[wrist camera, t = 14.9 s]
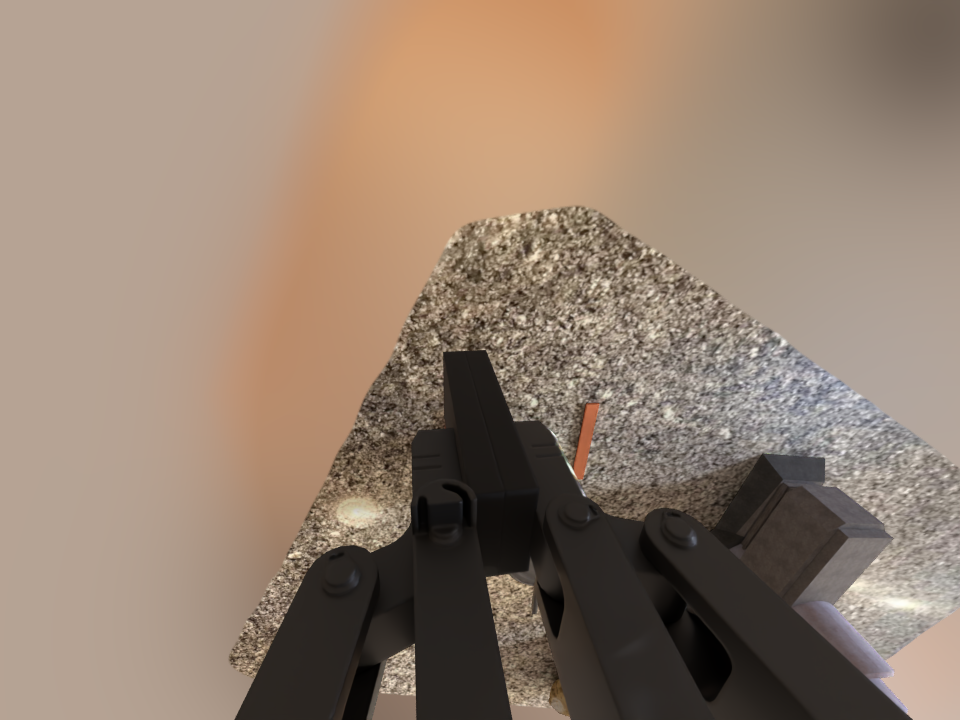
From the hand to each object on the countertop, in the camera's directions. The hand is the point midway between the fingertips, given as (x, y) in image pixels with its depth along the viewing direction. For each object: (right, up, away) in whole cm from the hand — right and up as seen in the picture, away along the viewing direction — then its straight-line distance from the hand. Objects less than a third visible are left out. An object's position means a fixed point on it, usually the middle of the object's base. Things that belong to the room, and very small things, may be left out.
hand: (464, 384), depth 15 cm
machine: (+44, -26, +52) cm, 73 cm away
